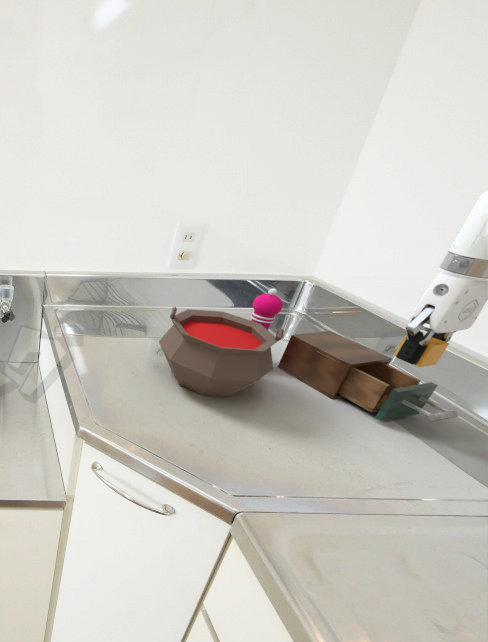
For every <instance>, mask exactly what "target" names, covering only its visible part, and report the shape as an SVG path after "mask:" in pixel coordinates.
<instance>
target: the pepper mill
mask: <svg viewBox="0 0 488 642" xmlns="http://www.w3.org/2000/svg"><path fill="white" fill-rule="evenodd" d="M277 294H278V290H277V289H276V288H274V287H273V288H269V290H268V291H267V293H262V294H260V295H258V296H256V298H255V299H254V300H253V302H252V308H253V311H251V315H250V321H253V322H256V323H259V324H261V325H262V326H264V327H265V328H266V329H267V330H268V331H269V328H270V326H271V325H272V324H273V323H274V322H275V319H276V315H278V314H279V313H281V312H282V309H283V306H284V303H283V300H282V299H281V297H280V296H278V295H277Z"/></svg>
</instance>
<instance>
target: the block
mask: <svg viewBox="0 0 488 642" xmlns="http://www.w3.org/2000/svg"><path fill="white" fill-rule="evenodd" d="M425 334H426V333H423V336H424V335H425ZM406 336H407V334H406V335H405V336H404V338H403V339H402V341H401V343H400V344H399V346H398V347H397V350H396V351H395V353H394V354H393V357H395V358H397V357H396V355H397V354H398V352H399V350H400V349H401V347H402V345H403V343H404V342H405V340H406V339H405V338H406ZM425 345H426V346H427V348H426V350H425V351H424V353H423V354H422V356H421V358H420V359H419V361H418V363H417V364H414V366H416V367H419V368H423V367H429V366H434V365H437V363H438V362H439V360H440V359H441V357H442V356H443V354H444V353H445V351H446V350H447V348H448V347H449V345H450V343H449V342H444V341H441V340H439V339H436V338H433V337H431V338H430V339H429V341H428V342H427V343H426V344H425Z"/></svg>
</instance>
